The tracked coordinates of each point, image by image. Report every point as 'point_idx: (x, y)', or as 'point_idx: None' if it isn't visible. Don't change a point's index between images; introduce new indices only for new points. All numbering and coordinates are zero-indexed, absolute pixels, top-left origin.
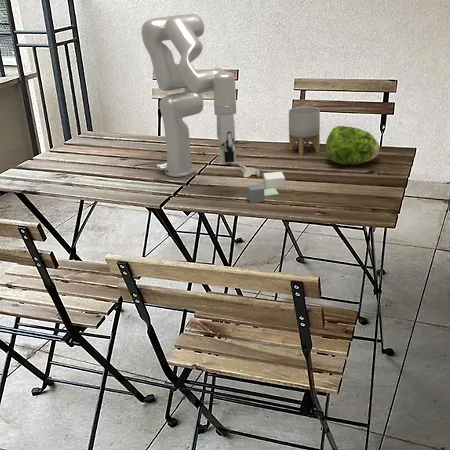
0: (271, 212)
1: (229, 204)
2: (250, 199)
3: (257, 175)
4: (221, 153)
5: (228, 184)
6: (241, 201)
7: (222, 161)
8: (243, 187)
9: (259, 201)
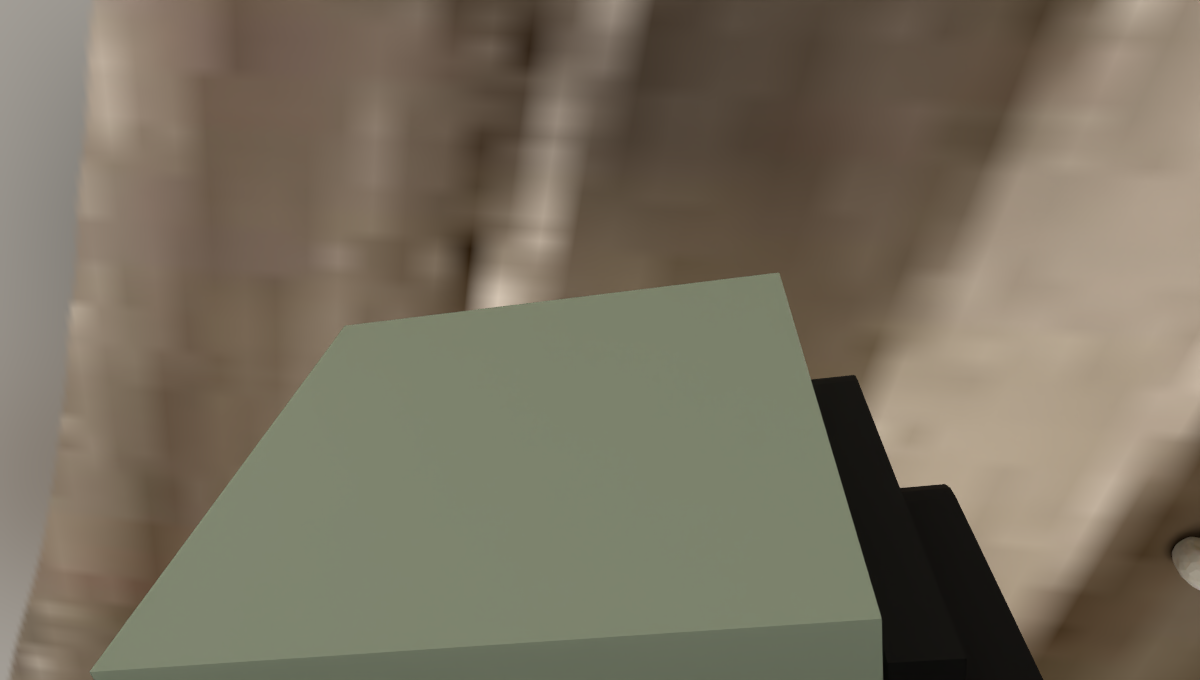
0: (106, 544)
1: (308, 151)
2: None
3: (1182, 553)
4: (274, 521)
5: (1066, 177)
6: (401, 302)
7: (324, 367)
8: (870, 360)
9: None
